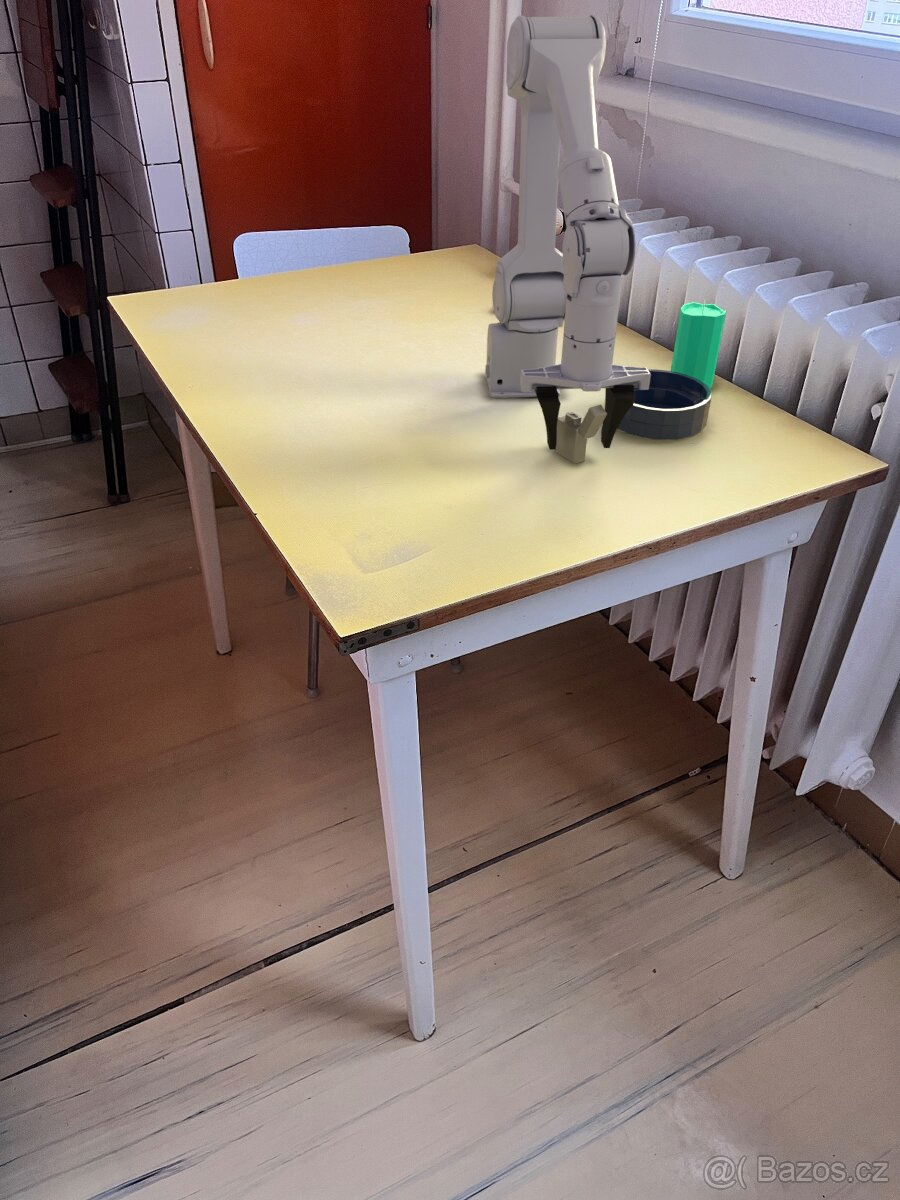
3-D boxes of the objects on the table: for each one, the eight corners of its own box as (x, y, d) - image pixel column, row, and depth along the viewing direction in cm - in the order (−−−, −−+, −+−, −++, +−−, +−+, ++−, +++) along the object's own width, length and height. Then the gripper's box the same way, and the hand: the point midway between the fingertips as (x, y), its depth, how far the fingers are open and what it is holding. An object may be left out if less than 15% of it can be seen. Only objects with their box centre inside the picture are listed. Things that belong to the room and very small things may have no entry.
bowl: (616, 445, 115) (620, 411, 113) (596, 401, 126) (599, 370, 123) (718, 443, 116) (724, 409, 114) (689, 400, 126) (695, 368, 124)
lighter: (553, 450, 114) (558, 388, 110) (565, 446, 115) (570, 385, 110) (589, 474, 109) (596, 411, 105) (601, 470, 110) (608, 408, 105)
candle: (713, 393, 128) (729, 307, 121) (668, 389, 129) (682, 303, 122) (712, 376, 133) (727, 292, 126) (669, 372, 134) (682, 288, 127)
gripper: (529, 348, 99) (522, 462, 107) (663, 346, 100) (646, 459, 108) (520, 324, 105) (514, 435, 113) (647, 322, 106) (632, 432, 114)
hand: (578, 445), depth 111 cm, fingers open, 6 cm apart
